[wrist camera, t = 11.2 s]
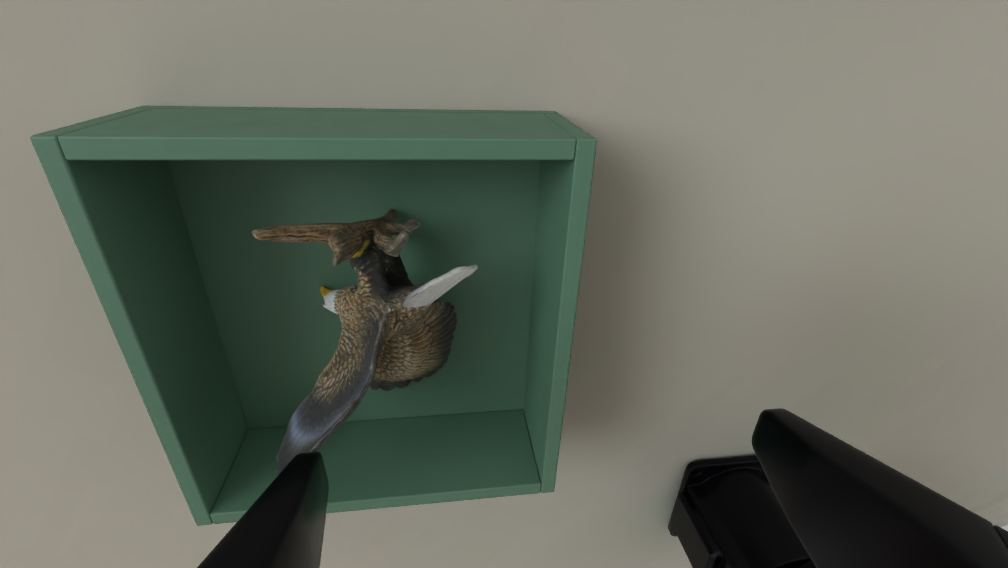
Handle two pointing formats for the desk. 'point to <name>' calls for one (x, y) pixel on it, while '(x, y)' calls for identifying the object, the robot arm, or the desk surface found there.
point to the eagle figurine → (369, 324)
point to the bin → (332, 287)
